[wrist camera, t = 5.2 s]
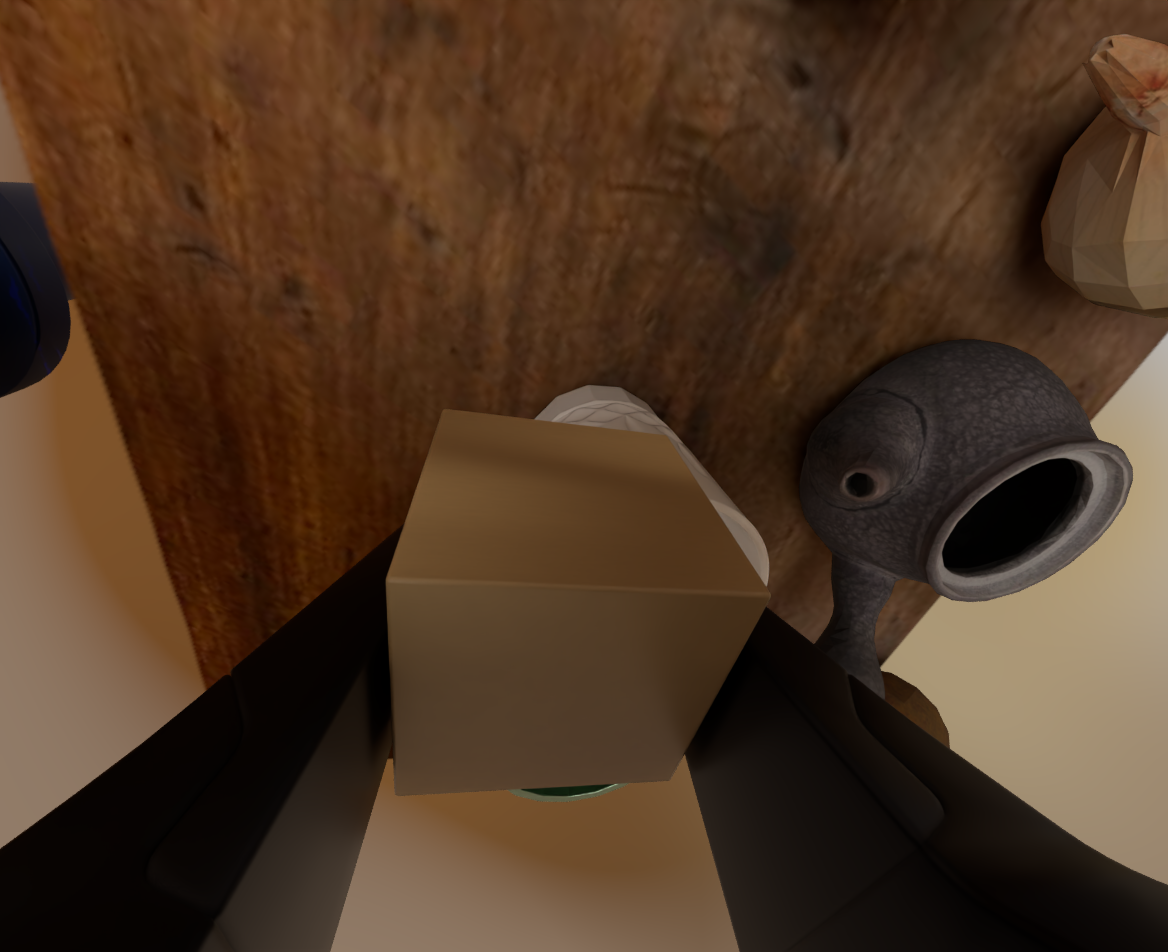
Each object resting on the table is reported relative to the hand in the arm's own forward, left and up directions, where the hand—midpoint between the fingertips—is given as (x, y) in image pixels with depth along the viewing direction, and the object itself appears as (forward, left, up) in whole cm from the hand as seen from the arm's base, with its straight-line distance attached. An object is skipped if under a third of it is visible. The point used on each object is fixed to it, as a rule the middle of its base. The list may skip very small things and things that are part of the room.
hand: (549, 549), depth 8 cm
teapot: (+18, +5, -13) cm, 23 cm away
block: (0, 0, -1) cm, 1 cm away
